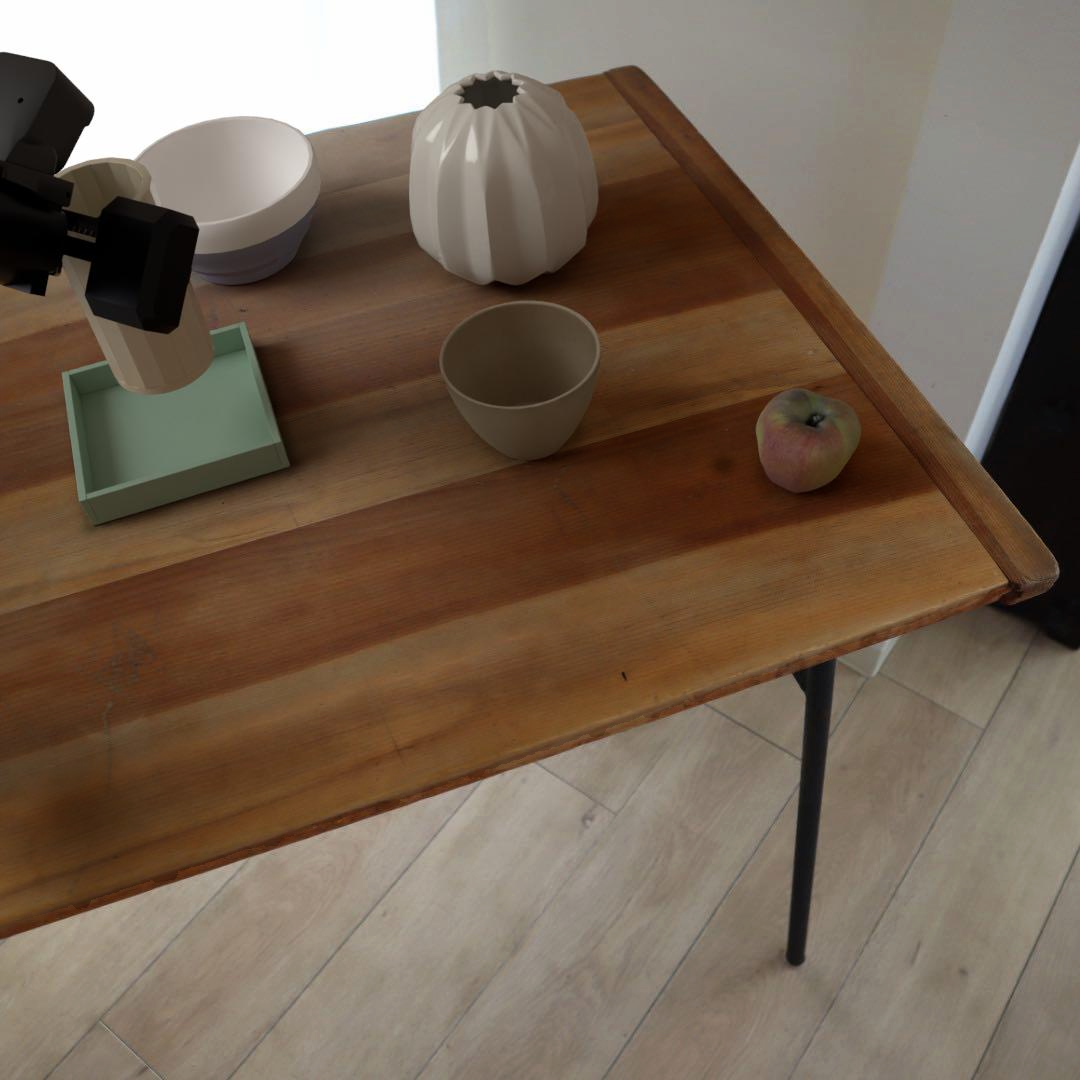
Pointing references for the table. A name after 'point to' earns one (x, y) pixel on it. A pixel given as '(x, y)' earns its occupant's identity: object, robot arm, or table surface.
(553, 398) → the flower pot
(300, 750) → the table surface
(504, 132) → the vase
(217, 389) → the serving tray
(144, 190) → the rice cup
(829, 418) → the apple
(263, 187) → the bowl
